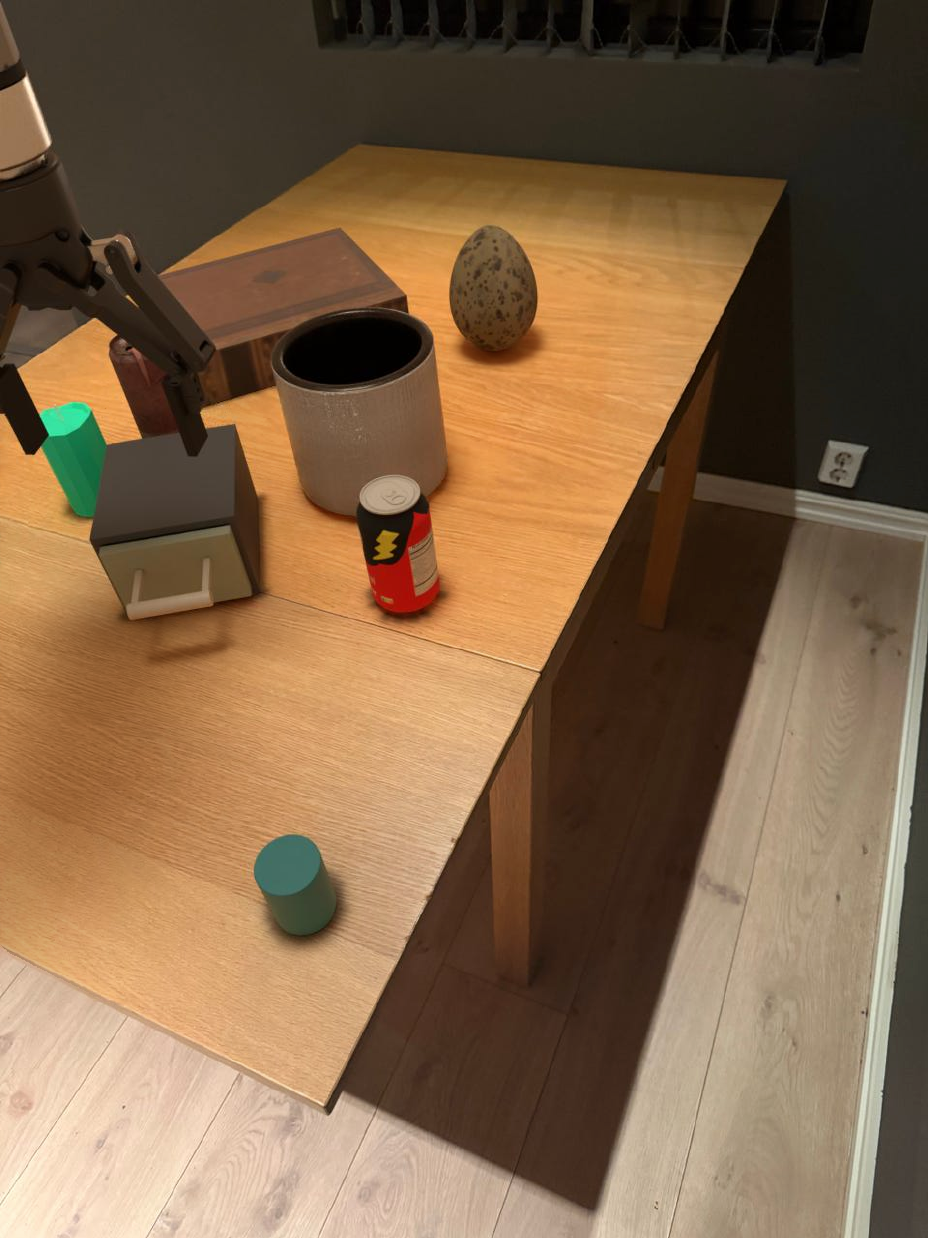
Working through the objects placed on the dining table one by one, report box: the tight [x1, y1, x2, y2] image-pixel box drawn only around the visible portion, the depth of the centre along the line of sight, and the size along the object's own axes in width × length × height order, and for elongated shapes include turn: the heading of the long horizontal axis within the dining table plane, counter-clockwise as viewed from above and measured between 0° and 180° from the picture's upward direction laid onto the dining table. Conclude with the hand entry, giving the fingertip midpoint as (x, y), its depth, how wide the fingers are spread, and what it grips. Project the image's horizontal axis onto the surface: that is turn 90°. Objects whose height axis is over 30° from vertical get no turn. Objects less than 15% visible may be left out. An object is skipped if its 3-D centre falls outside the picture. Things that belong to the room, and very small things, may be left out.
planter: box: [270, 307, 448, 517], centre depth 90 cm, size 16×16×16 cm
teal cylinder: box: [253, 834, 338, 937], centre depth 60 cm, size 4×4×6 cm
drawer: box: [99, 524, 253, 621], centre depth 82 cm, size 19×11×8 cm, turn 10°
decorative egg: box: [448, 224, 539, 352], centre depth 107 cm, size 11×11×15 cm
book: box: [157, 227, 410, 407], centre depth 117 cm, size 24×28×7 cm
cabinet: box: [88, 423, 261, 614], centre depth 85 cm, size 15×13×10 cm
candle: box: [39, 401, 107, 518], centre depth 92 cm, size 6×6×12 cm
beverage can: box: [355, 475, 440, 613], centre depth 78 cm, size 6×6×12 cm
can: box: [108, 334, 179, 439], centre depth 97 cm, size 6×6×14 cm
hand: (117, 445), depth 70 cm, fingers open, 13 cm apart
